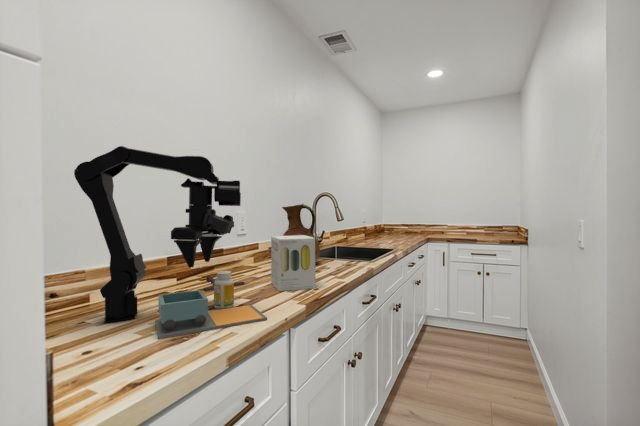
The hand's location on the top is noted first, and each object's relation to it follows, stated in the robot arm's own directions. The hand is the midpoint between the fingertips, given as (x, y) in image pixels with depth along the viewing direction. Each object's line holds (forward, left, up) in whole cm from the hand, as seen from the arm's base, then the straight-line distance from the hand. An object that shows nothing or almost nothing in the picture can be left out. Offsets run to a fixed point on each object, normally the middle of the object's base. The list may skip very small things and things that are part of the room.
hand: (199, 264), depth 86 cm
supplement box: (+34, +15, -13) cm, 39 cm away
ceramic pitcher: (+56, +55, -13) cm, 80 cm away
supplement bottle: (+7, +2, -13) cm, 15 cm away
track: (+1, -9, -13) cm, 15 cm away
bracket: (+11, +31, -14) cm, 36 cm away
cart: (-5, -9, -13) cm, 16 cm away
